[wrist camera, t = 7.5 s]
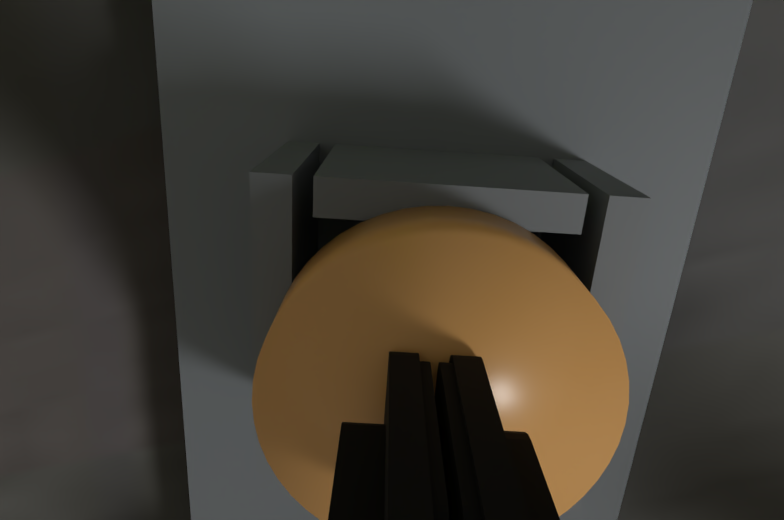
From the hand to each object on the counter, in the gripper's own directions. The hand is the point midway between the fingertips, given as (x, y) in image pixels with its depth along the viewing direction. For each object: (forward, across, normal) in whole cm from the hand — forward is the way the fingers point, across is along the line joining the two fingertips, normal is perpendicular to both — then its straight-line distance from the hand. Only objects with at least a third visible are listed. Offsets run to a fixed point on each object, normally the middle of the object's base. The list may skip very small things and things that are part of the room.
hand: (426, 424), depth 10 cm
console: (+8, 0, +8) cm, 11 cm away
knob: (+6, 0, 0) cm, 6 cm away
